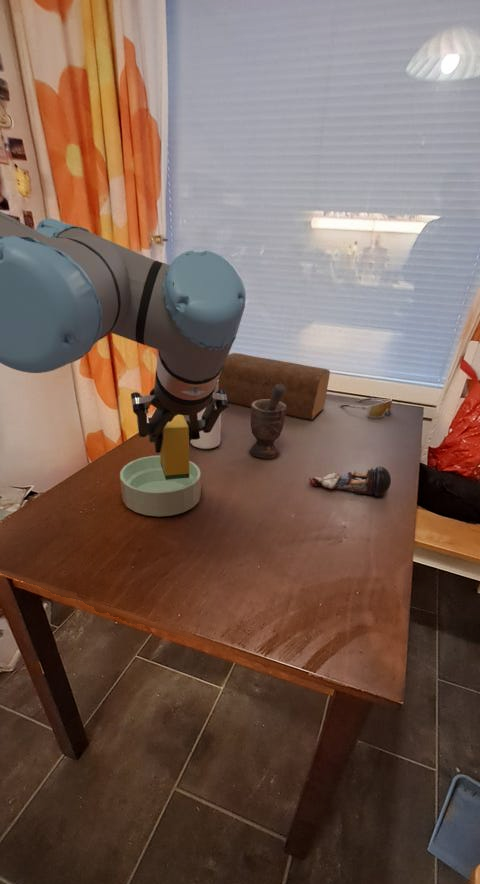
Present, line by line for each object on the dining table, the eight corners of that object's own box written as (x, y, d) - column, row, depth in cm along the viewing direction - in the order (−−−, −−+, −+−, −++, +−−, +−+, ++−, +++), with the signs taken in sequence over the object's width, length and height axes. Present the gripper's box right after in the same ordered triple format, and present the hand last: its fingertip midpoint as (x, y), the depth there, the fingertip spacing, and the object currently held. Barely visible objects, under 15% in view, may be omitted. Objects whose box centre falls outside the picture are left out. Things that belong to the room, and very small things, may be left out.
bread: (312, 422, 131) (320, 375, 123) (216, 400, 142) (217, 356, 134) (324, 409, 142) (332, 365, 133) (234, 390, 152) (236, 348, 144)
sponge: (165, 480, 70) (163, 428, 64) (160, 463, 74) (157, 414, 69) (189, 477, 71) (188, 426, 65) (182, 462, 75) (181, 413, 70)
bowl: (112, 514, 83) (108, 488, 80) (135, 476, 96) (133, 452, 93) (193, 522, 83) (193, 496, 79) (205, 482, 96) (205, 458, 93)
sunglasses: (374, 421, 135) (376, 405, 132) (336, 413, 144) (337, 398, 142) (398, 412, 143) (400, 397, 140) (360, 406, 153) (361, 391, 150)
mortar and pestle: (294, 461, 108) (305, 382, 96) (267, 468, 103) (275, 387, 92) (267, 444, 115) (275, 369, 103) (241, 450, 111) (246, 373, 99)
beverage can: (204, 453, 108) (204, 407, 101) (183, 443, 113) (182, 399, 106) (226, 444, 113) (228, 401, 106) (205, 435, 118) (206, 392, 111)
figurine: (393, 471, 89) (308, 464, 94) (389, 501, 91) (306, 493, 96) (392, 464, 96) (313, 459, 101) (388, 493, 98) (311, 486, 103)
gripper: (119, 406, 48) (123, 469, 71) (258, 400, 53) (220, 461, 75) (111, 346, 49) (117, 427, 72) (248, 345, 54) (214, 421, 76)
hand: (170, 444), depth 74 cm, fingers closed on sponge, 4 cm apart
